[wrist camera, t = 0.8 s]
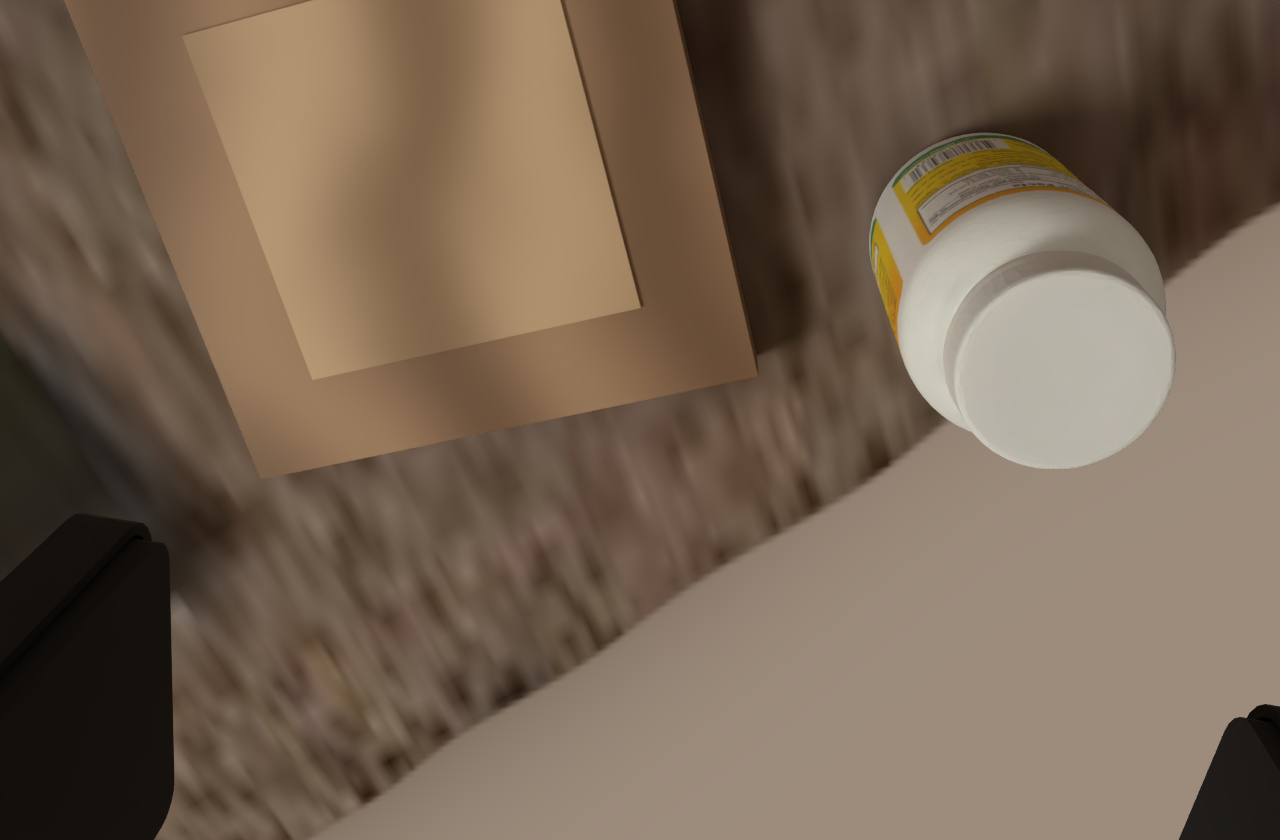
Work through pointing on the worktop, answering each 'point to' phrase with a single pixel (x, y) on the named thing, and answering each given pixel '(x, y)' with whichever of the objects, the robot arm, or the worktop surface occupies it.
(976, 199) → the supplement bottle
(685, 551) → the worktop surface
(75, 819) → the robot arm
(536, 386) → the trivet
